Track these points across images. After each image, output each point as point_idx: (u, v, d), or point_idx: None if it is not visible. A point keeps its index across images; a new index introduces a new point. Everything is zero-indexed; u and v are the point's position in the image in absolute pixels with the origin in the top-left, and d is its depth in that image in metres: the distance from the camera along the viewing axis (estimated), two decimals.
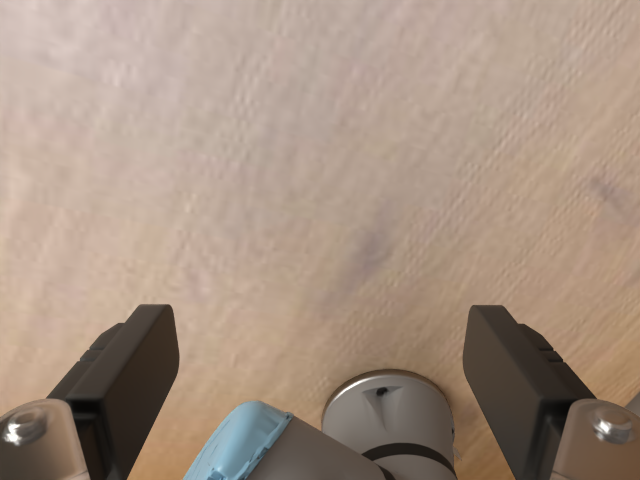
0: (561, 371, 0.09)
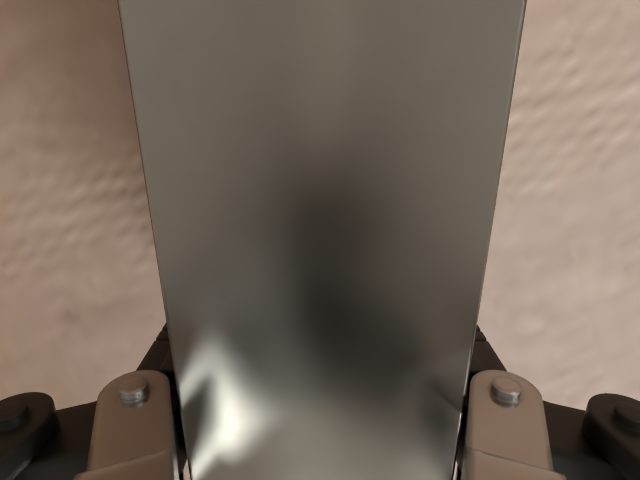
0: (482, 349, 0.10)
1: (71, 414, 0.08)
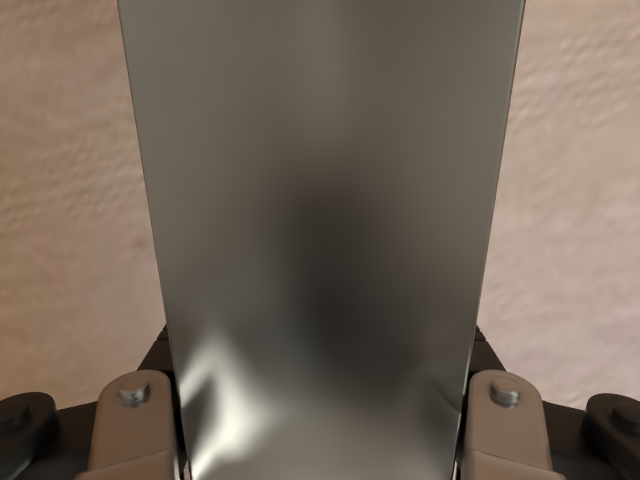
0: (481, 349, 0.10)
1: (71, 413, 0.08)
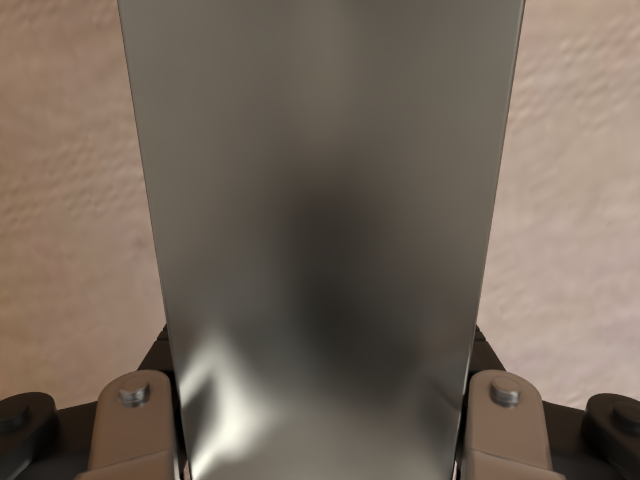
0: (481, 349, 0.10)
1: (72, 414, 0.08)
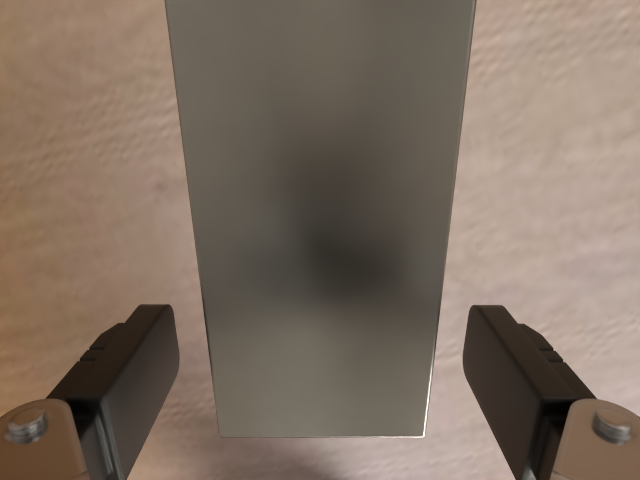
0: (561, 371, 0.09)
1: None
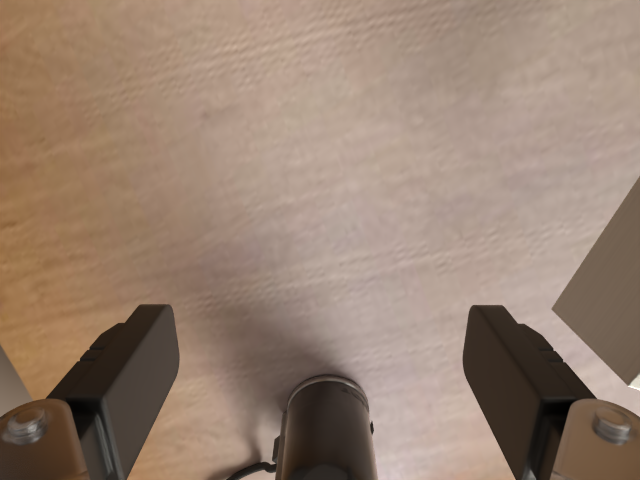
0: (561, 371, 0.09)
1: None
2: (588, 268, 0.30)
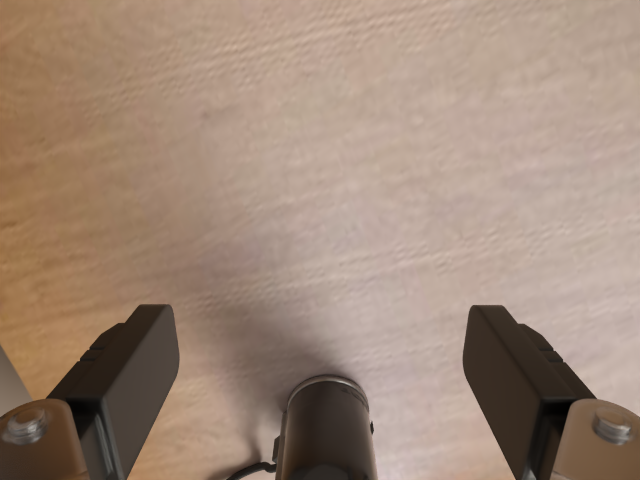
0: (561, 371, 0.09)
1: None
2: None
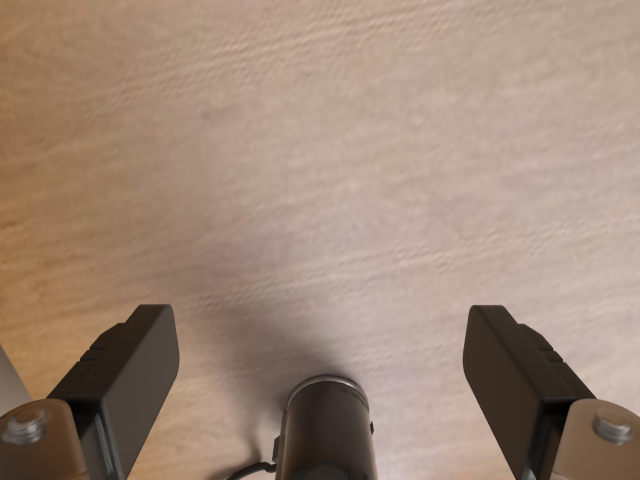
0: (561, 371, 0.09)
1: None
2: None
